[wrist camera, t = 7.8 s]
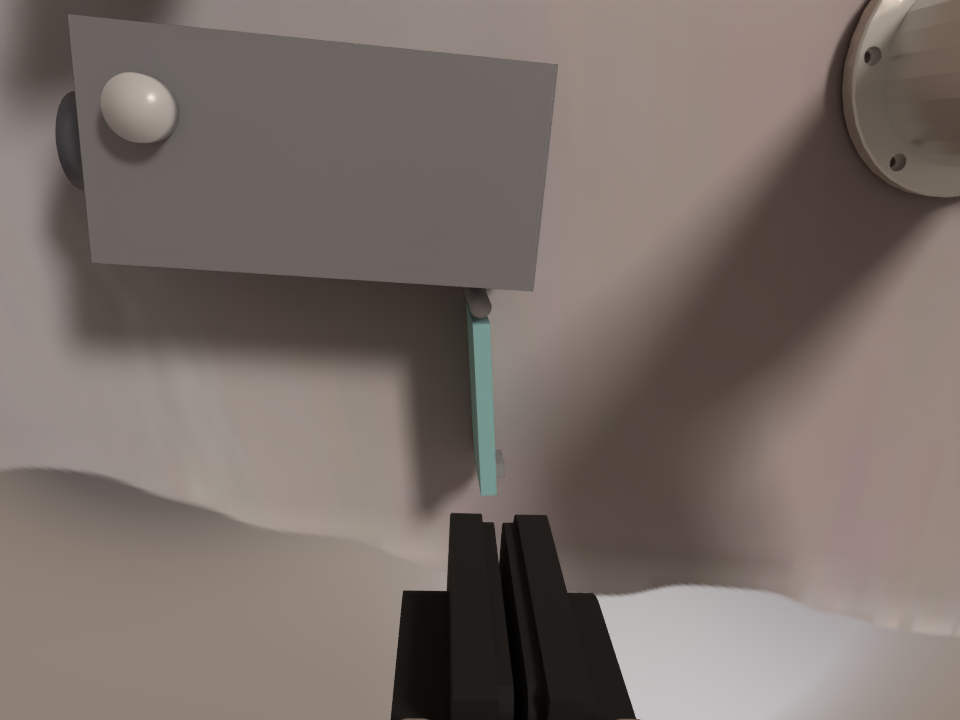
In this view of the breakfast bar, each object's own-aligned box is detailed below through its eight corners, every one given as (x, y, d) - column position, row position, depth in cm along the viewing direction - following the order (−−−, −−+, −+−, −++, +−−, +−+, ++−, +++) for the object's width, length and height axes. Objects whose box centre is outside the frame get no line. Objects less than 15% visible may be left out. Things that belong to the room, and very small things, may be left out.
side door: (462, 276, 35) (469, 297, 30) (490, 274, 35) (501, 295, 30) (471, 452, 38) (479, 496, 34) (497, 450, 38) (508, 493, 34)
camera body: (529, 80, 32) (563, 61, 25) (510, 272, 35) (535, 308, 28) (107, 38, 30) (3, 3, 23) (124, 246, 33) (37, 277, 26)
